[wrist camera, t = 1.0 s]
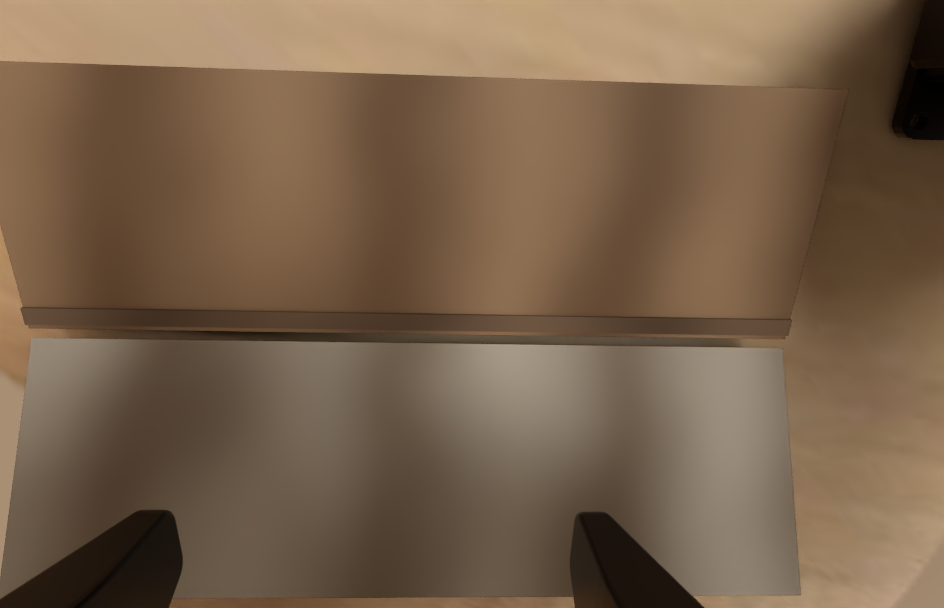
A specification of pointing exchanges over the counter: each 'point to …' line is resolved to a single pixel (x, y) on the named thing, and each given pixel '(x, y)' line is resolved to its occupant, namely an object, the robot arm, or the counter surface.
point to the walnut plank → (407, 202)
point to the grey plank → (407, 463)
